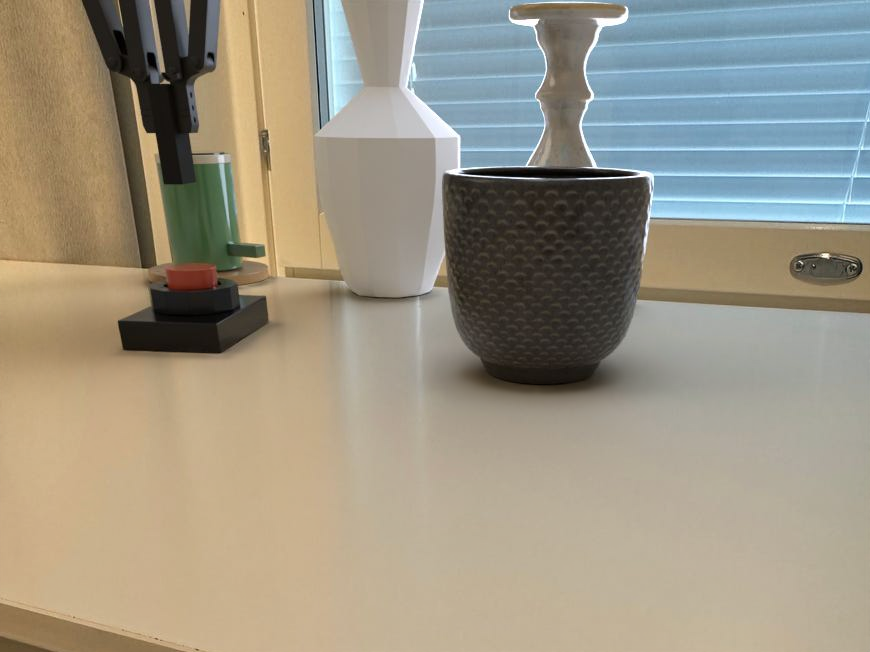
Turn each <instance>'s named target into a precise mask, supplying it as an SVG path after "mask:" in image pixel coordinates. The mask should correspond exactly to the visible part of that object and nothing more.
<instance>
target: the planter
mask: <svg viewBox="0 0 870 652" xmlns="http://www.w3.org/2000/svg"><path fill="white" fill-rule="evenodd" d="M654 179H655V178H654V175H653V173H651V172H648V171H643V170H636V169H626V168H625V169H624V168H610V167H597V168H594V167H558V166H526V165H522V166H521V165H520V166H519V165H514V166H481V167H480V166H479V167H478V166H477V167H465V168H460V169H453V170H448V171H445V173H444V174H443V178H442V203H443V226H444V242H445V256H444V258H445V268H446V269H445V270H446V280H447V281H446V282H447V290H448V291H447V292H448V297H449V304H450V309H451V315H452V318H453V322H454V325H455V329H456V331H457V333H458V336H459V337H460V339H461V340H462V342H463V344H464V346H465V347H466V348H467V349H468V350H469V351H470V352H471V353H472V354H474V355H475V356H476V357H478V358H479V359H480V361H481V363H482V366H483V367H484V369H485V370H486V372H487V373H488V374H489V375H491V376H492V377H494V378H498V379H499V380H500V379H501V380H504V381H509V382H514V383H520V384H528V385H529V384H530V385H557V384H567V383H574V382H578V381H582V380H585V379H588V378H589V377H591V376H592V375H593V374H594V373H595V372H596V371H597V369H598V367H599V366H600V364H601V361H602V360H604V359H606V358H608V357H609V356H610V355H611V354H613V353H614V351H616V350H617V348H618V347H619V346H620V345H621V344H622V342H623V341H624V339H625V338H626V336H627V333H628V331H629V329H630V326H631V323H632V321H633V318H634V313H635V310H636V305H637V301H638V298H639V293H640V286H641V281H642V276H643V275H642V274H643V268H644V262H645V255H646V248H647V242H648V235H649V227H650V220H651V212H652V204H653V196H654V186H655V185H654V183H655V182H654Z"/></svg>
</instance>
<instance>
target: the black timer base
mask: <svg viewBox="0 0 870 652" xmlns="http://www.w3.org/2000/svg"><path fill="white" fill-rule="evenodd" d="M217 279H218V286H216V287H210V288H202V289H172V288H168V286H167V280H163V281H157V282H155V283H152V282H151V283H150V284H148V285H147V288H148V294H149V295H148V296H149V301H150V305H149V306H148V307H145V308H143V309H141V310H139V311H137V312H134V313H132V314H130V315H127V316H125V317H123V318H121V319H119V320H117V326H118V331H119V336H120V337H119V338H120V341H121V346H122V349H123V350H124V351H125V350H126V351H128V350H129V351H153V352H154V351H156V352H181V353H182V352H185V353H210V354H211V353H212V354H220V353H222V352H224V351H226V350H227V349H228V348H230V347H232V346H233V345H235V344H237V343H238V342H239V341H241V340H243V339H244V338H246V337H247V336H248V335H250V334H252V333H253V332H255V331H256V330H258V329H259V328H261V327H263V326H264V325H266V324H267V323H269V322H270V318H269V310H268V309H269V308H268V301H267V296H266V295H253V294H251V295H250V294H240V292H239V285H238V284H237V283H236V282H235V281H234V280H230V279H224V278H217Z"/></svg>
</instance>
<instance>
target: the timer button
mask: <svg viewBox="0 0 870 652" xmlns="http://www.w3.org/2000/svg"><path fill="white" fill-rule="evenodd" d="M165 274H166V280H167V286H168V288H172V289H202V288H210V287H216V286H218V279H217V271H216V266H215V265H212V264H206V263H184V264H175V265H169V266H166V267H165Z"/></svg>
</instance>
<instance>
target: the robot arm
mask: <svg viewBox="0 0 870 652" xmlns="http://www.w3.org/2000/svg"><path fill="white" fill-rule="evenodd" d="M81 2H82V6H83V8H84V11H85V14H86V16H87V18H88V21H89V24H90V26H91V29H92V31H93V34H94V37H95V40H96V42H97V46H98V47H99V50H100V53H101V56H102V58H103V61H104V62H105V66H106V67H107V69H108V70H109V71H110V72H112V73H117V74H119V75H122V76H124V77H127V78H129V79H130V80H132V82H133V84H134V85H135V88H136V93H137V100H138V105H139V106H138V107H139V111H140V116H141V123H142V127H143V129H144V131H145V133H146V134H155V139H156V145H157V151H158V152H157V153H159V158H160V164H161V170H162V176H163V182H164V184H172V185H183V184H188V183H194V182H196V177H195V170H194V163H193V157H192V151H193V149H192V144H191V137H190V134H199V129H200V122H199V115H198V107H197V100H196V94H195V84H196V83H195V82H196V80H198V79H199V78H201V77H203V76H204V75H207V74H209V73H210V74H211V73H213V72H215V70H216V68H217V61H218V46H219V28H220V14H221V0H190V3H189V4H190V5H189V25H188V21H187V13H186V8H185V0H153V4H154V11H155V17H156V22H157V23H156V24H157V30H158V36H159V42H160V49H161V54H162V60H163V65H164V66H163V67H164V72H163V71H161V67H160V60H159V53H158V48H157V42H156V35H155V30H154V29H155V28H154V22H153V16H152V15H153V14H152V10H151V9H152V8H151V1H150V0H118V4H119V5H118V6H119V12H120V16H121V18H120V16H119V12H118V10H117V8H116V5H115V1H114V0H81ZM165 81H166V82H167V83H163V82H165ZM168 82H169V83H168Z"/></svg>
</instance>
